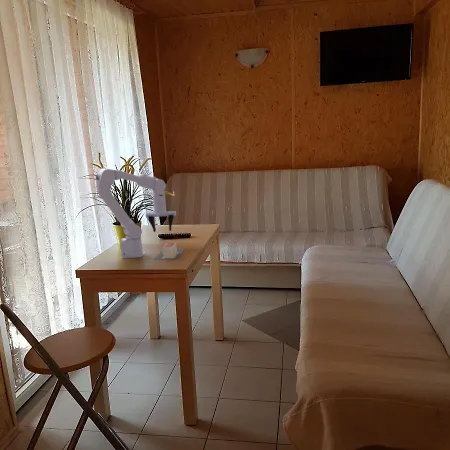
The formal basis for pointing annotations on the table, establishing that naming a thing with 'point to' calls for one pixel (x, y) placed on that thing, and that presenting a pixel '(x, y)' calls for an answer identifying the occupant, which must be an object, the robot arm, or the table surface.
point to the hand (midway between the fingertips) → (162, 231)
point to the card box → (169, 250)
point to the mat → (160, 257)
